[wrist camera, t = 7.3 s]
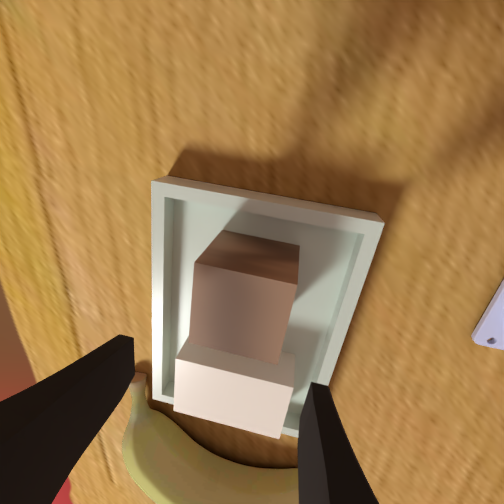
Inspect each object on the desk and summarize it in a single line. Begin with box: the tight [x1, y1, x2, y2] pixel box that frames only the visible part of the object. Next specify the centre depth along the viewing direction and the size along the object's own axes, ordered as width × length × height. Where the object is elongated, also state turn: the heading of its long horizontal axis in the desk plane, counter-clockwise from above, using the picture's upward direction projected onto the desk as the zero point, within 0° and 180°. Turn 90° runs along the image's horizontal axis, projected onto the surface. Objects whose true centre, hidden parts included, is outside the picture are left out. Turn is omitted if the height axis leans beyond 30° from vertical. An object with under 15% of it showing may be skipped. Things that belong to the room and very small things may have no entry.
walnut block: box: [188, 230, 300, 365], centre depth 17 cm, size 5×5×5 cm
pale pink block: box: [173, 336, 295, 439], centre depth 21 cm, size 8×5×3 cm, turn 82°
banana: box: [122, 372, 299, 504], centre depth 26 cm, size 14×6×20 cm
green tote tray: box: [151, 176, 385, 438], centre depth 20 cm, size 13×18×2 cm
